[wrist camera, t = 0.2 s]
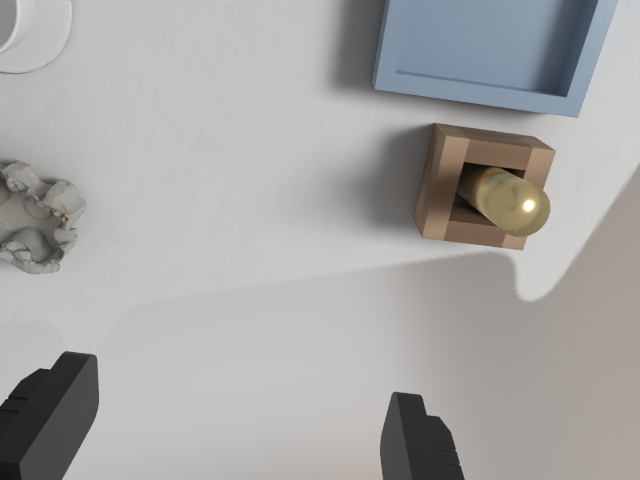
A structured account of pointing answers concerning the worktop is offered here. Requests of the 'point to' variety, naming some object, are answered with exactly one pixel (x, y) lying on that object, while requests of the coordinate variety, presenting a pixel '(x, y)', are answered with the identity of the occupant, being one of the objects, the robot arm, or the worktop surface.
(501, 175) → the pin
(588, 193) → the worktop surface
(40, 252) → the egg carton
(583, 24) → the tray
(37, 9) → the teacup
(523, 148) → the bracket
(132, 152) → the worktop surface
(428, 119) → the worktop surface
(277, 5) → the worktop surface
